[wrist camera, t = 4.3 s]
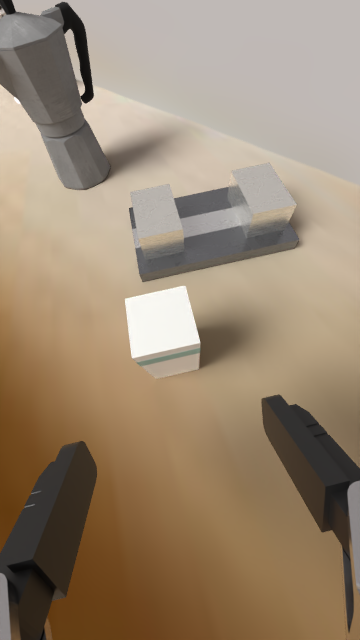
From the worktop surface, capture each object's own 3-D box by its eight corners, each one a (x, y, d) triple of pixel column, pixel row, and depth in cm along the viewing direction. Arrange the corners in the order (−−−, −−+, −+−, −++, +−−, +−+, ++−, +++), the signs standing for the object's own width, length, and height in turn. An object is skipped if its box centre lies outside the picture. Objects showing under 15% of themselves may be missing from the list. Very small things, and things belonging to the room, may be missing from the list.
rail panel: (260, 189, 32) (270, 152, 27) (294, 248, 27) (314, 214, 22) (131, 217, 31) (120, 183, 27) (142, 281, 27) (131, 254, 22)
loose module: (189, 329, 24) (185, 285, 15) (199, 369, 22) (200, 342, 13) (149, 338, 23) (124, 298, 15) (156, 379, 22) (131, 358, 13)
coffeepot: (76, 205, 34) (-39, 6, 17) (39, 186, 36) (-91, -1, 20) (137, 154, 38) (92, -42, 22) (100, 140, 41) (36, -43, 24)
